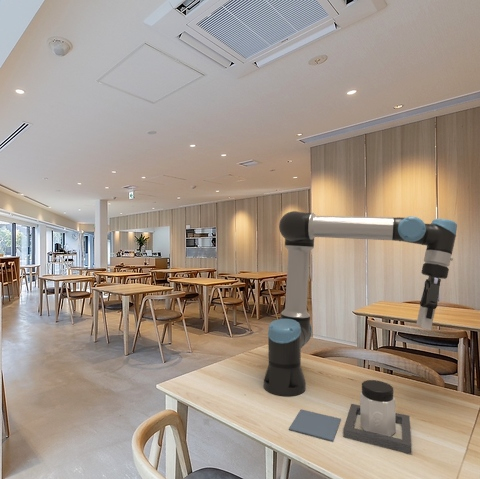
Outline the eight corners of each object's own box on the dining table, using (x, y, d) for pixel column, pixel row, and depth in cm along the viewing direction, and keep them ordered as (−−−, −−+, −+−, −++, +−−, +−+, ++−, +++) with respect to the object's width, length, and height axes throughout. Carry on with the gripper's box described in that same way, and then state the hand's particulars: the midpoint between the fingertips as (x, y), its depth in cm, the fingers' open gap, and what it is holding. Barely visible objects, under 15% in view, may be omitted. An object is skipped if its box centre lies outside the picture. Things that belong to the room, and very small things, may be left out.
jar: (360, 434, 86) (359, 389, 86) (360, 419, 93) (360, 377, 94) (397, 441, 83) (396, 394, 83) (394, 425, 90) (393, 382, 91)
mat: (288, 430, 88) (288, 428, 88) (300, 410, 98) (300, 409, 98) (333, 441, 82) (333, 440, 82) (340, 419, 93) (340, 418, 93)
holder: (343, 436, 84) (343, 429, 85) (351, 410, 99) (351, 403, 99) (411, 454, 77) (411, 445, 77) (409, 422, 92) (409, 415, 92)
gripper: (457, 263, 94) (442, 334, 92) (442, 270, 116) (430, 327, 115) (428, 258, 97) (414, 326, 96) (419, 265, 120) (407, 321, 118)
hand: (423, 327), depth 105 cm, fingers open, 13 cm apart
